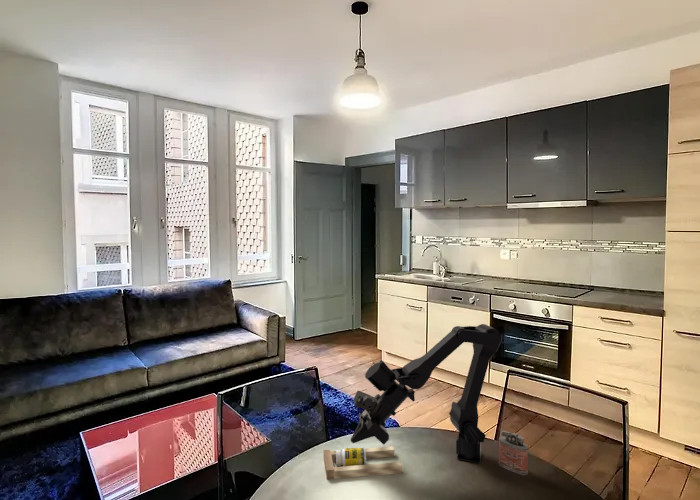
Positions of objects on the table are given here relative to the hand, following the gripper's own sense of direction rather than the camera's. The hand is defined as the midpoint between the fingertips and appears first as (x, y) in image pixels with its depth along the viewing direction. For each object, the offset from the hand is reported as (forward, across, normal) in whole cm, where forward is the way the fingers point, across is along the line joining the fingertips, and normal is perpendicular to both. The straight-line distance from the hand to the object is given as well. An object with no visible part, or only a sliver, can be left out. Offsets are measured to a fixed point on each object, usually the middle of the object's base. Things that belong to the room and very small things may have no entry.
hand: (351, 441), depth 117 cm
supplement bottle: (0, 0, +6) cm, 6 cm away
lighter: (-26, +8, +37) cm, 46 cm away
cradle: (+3, 0, +7) cm, 8 cm away
